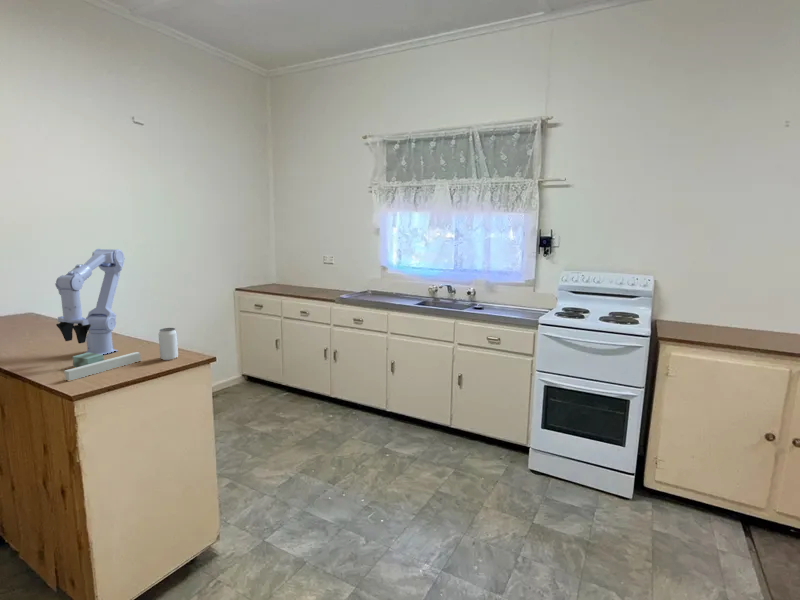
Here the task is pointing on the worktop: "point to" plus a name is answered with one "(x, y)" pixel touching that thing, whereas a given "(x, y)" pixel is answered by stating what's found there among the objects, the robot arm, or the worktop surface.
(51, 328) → the worktop surface
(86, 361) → the block
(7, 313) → the worktop surface
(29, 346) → the worktop surface
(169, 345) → the can
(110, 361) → the board
